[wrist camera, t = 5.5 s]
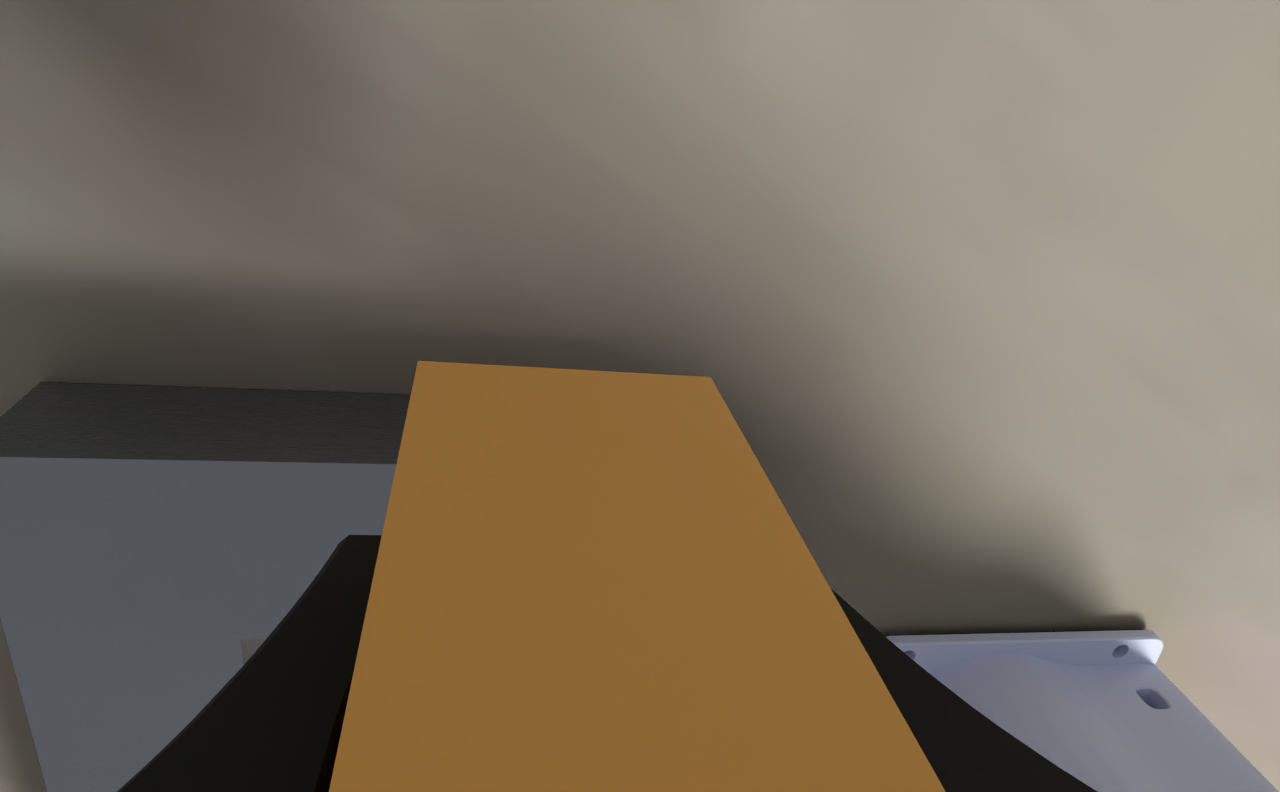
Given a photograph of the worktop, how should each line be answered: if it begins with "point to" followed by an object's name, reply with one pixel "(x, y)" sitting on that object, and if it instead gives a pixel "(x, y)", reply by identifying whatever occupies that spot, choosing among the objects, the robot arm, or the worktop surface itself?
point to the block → (603, 605)
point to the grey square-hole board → (167, 548)
